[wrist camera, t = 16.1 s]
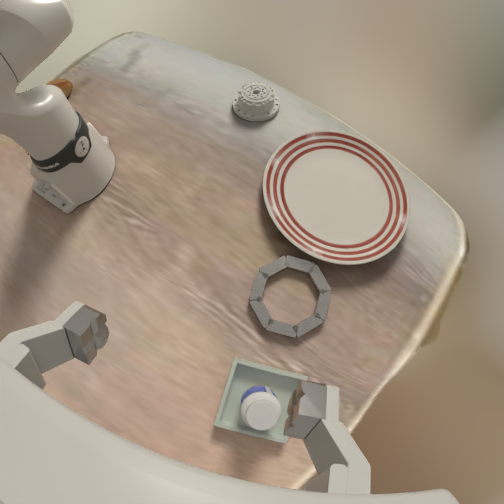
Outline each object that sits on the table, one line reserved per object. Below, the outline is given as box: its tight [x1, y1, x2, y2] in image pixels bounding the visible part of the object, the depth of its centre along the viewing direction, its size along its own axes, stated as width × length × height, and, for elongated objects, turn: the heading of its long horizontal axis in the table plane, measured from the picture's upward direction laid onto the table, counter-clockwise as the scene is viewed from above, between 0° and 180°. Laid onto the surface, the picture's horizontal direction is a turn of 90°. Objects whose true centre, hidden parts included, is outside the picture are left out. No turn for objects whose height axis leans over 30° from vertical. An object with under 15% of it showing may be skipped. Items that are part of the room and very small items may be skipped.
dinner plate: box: [263, 130, 410, 265], centre depth 50 cm, size 28×27×3 cm
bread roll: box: [46, 79, 73, 98], centre depth 56 cm, size 10×15×8 cm, turn 144°
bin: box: [214, 357, 308, 443], centre depth 40 cm, size 11×11×2 cm
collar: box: [249, 255, 332, 338], centre depth 45 cm, size 12×12×1 cm
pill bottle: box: [240, 385, 282, 430], centre depth 36 cm, size 5×5×10 cm
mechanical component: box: [233, 82, 280, 122], centre depth 55 cm, size 10×4×10 cm
